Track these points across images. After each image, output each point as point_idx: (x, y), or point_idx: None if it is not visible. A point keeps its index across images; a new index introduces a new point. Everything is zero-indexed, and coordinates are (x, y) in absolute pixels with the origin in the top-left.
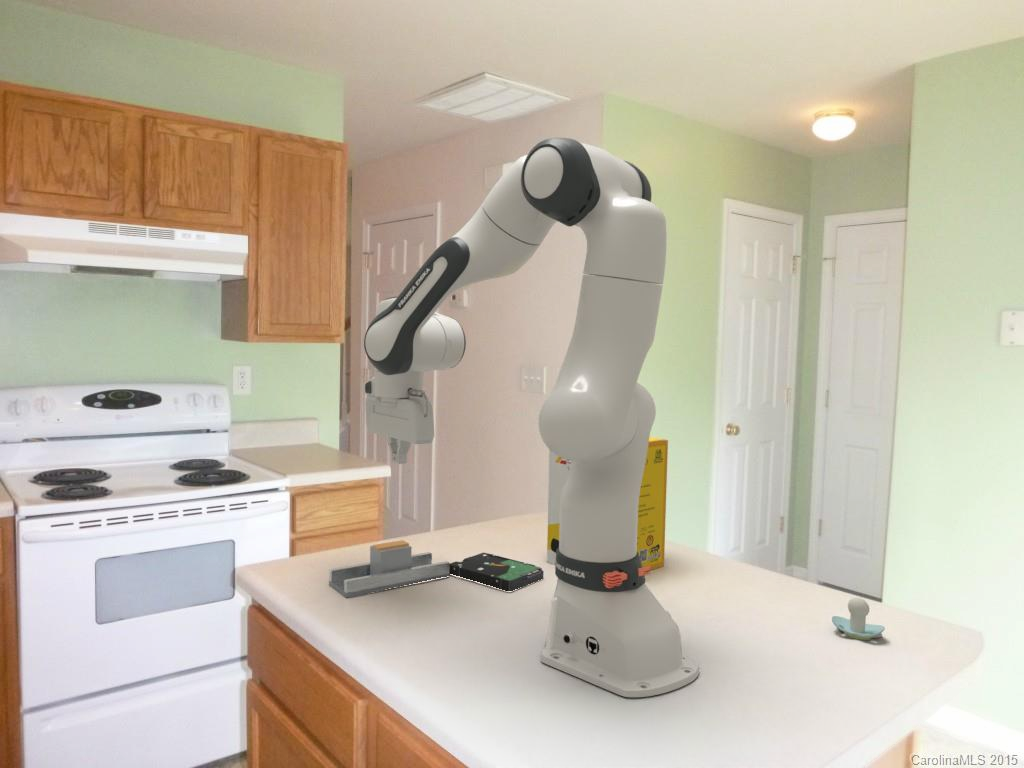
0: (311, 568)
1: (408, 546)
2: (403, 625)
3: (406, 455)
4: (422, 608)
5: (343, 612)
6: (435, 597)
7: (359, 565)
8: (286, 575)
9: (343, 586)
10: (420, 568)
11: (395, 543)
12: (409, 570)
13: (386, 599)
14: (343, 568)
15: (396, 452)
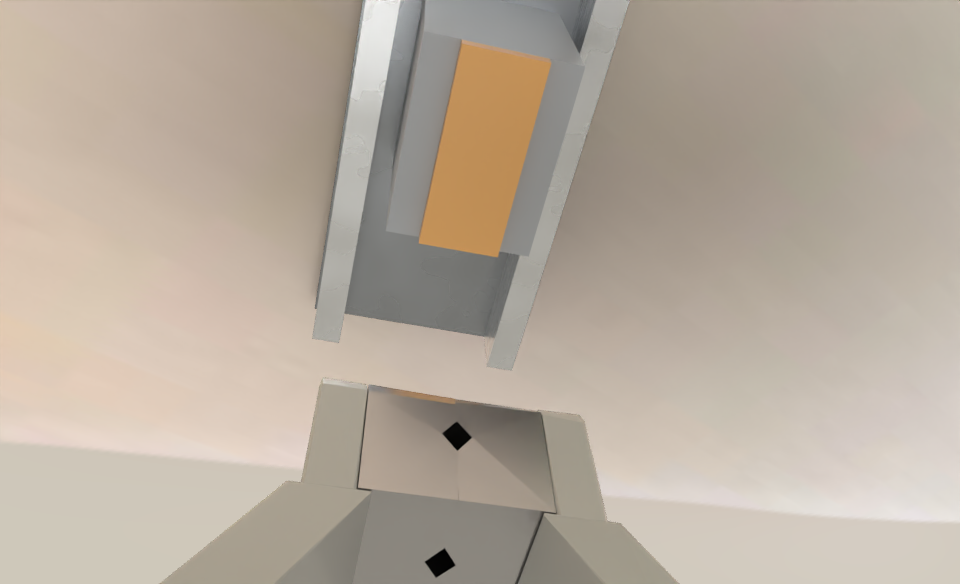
0: (39, 235)
1: (563, 74)
2: (875, 337)
3: (595, 497)
4: (836, 196)
5: (616, 403)
6: (805, 71)
7: (352, 215)
8: (84, 352)
9: (430, 309)
10: (626, 8)
11: (489, 128)
12: (603, 76)
13: (642, 235)
14: (343, 292)
15: (369, 566)
